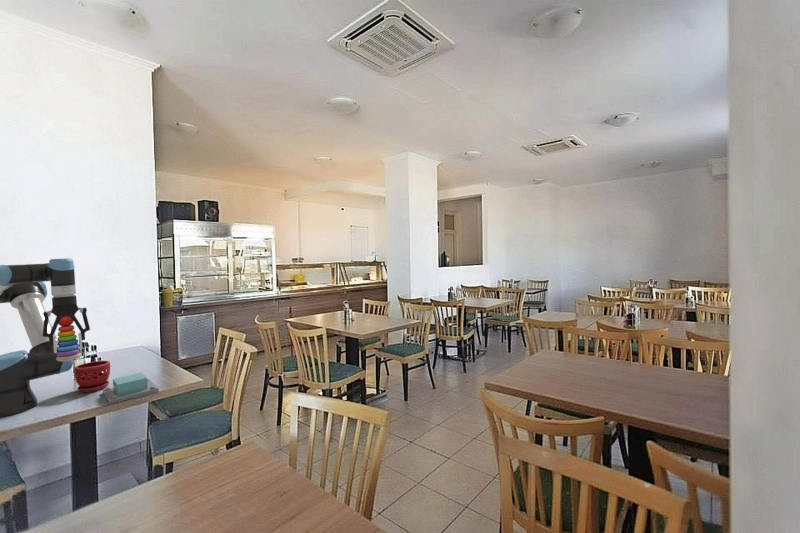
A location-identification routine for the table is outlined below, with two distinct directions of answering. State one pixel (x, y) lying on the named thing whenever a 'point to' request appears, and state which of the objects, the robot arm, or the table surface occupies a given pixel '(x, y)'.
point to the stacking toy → (67, 341)
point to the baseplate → (130, 395)
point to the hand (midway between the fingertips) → (68, 350)
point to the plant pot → (92, 375)
